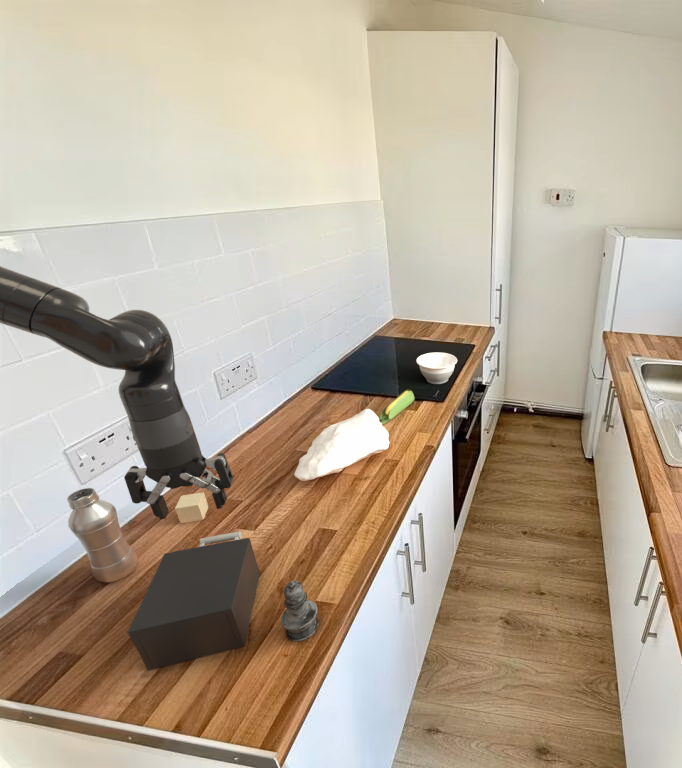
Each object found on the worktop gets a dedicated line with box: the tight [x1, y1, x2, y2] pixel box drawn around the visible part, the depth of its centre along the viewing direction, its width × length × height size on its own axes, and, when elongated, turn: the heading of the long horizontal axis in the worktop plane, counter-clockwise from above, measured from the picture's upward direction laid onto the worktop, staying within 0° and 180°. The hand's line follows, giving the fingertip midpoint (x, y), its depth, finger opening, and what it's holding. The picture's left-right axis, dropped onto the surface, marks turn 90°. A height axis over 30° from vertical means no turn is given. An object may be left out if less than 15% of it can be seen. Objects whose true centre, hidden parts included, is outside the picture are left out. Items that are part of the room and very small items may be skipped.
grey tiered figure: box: [280, 580, 319, 642], centre depth 75 cm, size 6×6×12 cm
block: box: [174, 491, 209, 524], centre depth 100 cm, size 4×4×4 cm
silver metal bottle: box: [66, 487, 138, 584], centre depth 82 cm, size 6×7×20 cm
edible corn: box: [379, 389, 415, 425], centre depth 148 cm, size 5×20×5 cm, turn 163°
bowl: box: [415, 351, 458, 385], centre depth 171 cm, size 16×16×9 cm
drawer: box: [173, 530, 247, 552], centre depth 80 cm, size 20×13×8 cm, turn 19°
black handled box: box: [127, 537, 261, 672], centre depth 77 cm, size 16×14×10 cm
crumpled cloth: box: [293, 408, 390, 482], centre depth 122 cm, size 24×35×9 cm
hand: (193, 510), depth 77 cm, fingers open, 8 cm apart
